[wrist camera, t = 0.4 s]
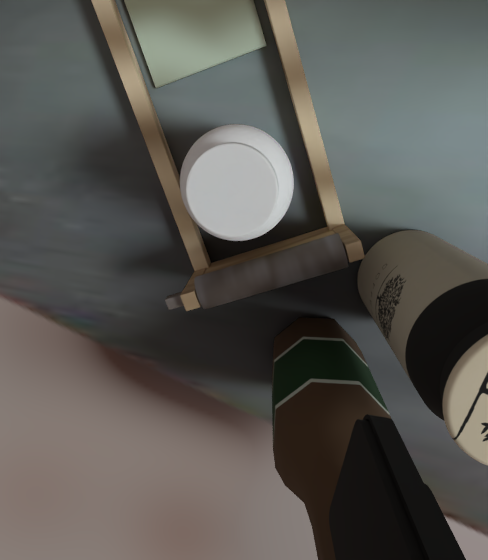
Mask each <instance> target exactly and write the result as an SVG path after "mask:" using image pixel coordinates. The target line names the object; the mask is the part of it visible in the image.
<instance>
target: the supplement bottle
mask: <svg viewBox="0 0 488 560" xmlns="http://www.w3.org/2000/svg"><path fill="white" fill-rule="evenodd" d="M293 188H294V179H293V172H292V167H291V164H290V161H289V159H288V157H287V155H286V153H285V151H284V150H283V148H282V147H281V146H280V145H279V143H278V142H277V141H276V140H275V139H274V138H272V137H271V136H270V135H269V134H267V133H266V132H264V131H262V130H260V129H258V128H255V127H252V126H248V125H241V124H231V125H225V126H220V127H217V128H215V129H213V130H211V131H209V132H207V133H205V134H204V135H203V136H201V137H200V138H199V139H198V140H197V141H196V142H195V143H194V144H193V146H192V147H191V148H190V150H189V152H188V153H187V155H186V157H185V159H184V162H183V165H182V169H181V174H180V191H181V196H182V200H183V203H184V205H185V207H186V209H187V211H188V213H189V215H190V216H191V217H192V219H193V220H194V221H195V222H196V223H197V225H199V226H200V227H201V228H202V229H203V230H205V231H206V232H208V233H209V234H211V235H213V236H215V237H218V238H221V239H224V240H230V241H244V240H250V239H254V238H257V237H259V236H261V235H263V234H265V233H267V232H268V231H270V230H271V229H272V228H273V227H275V226H276V225H277V224H278V222H279V221H280V220H281V219H282V218H283V216H284V215H285V213H286V211H287V210H288V207H289V205H290V202H291V199H292V195H293Z"/></svg>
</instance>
